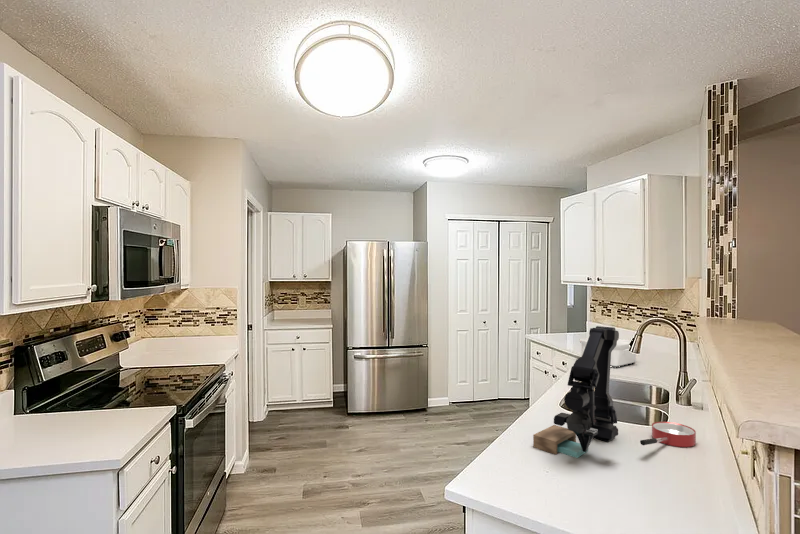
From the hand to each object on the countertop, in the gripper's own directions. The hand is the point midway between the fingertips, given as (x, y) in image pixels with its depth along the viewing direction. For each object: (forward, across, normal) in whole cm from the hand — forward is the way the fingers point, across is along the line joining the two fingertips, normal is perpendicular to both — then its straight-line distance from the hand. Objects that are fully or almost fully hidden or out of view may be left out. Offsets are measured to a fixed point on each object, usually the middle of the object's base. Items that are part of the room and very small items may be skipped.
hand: (584, 451), depth 138 cm
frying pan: (+1, +16, +26) cm, 30 cm away
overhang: (+1, -10, 0) cm, 10 cm away
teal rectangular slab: (+1, -6, 0) cm, 6 cm away
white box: (+1, -52, +151) cm, 160 cm away
